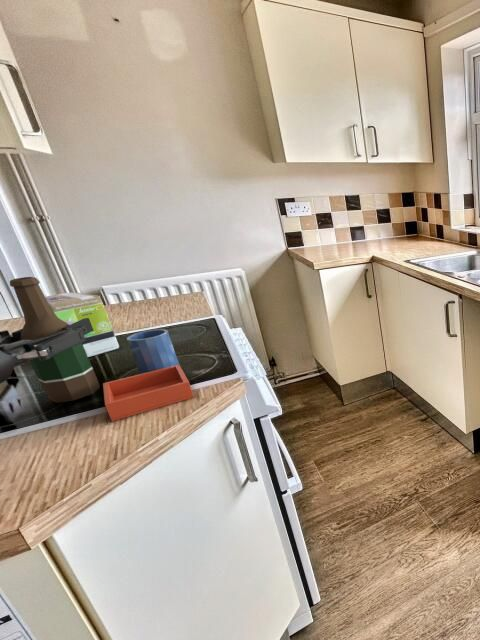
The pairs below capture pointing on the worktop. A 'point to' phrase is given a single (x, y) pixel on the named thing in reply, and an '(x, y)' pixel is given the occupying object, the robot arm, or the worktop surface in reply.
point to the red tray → (146, 392)
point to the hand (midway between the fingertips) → (66, 326)
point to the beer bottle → (63, 368)
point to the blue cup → (152, 350)
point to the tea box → (86, 306)
